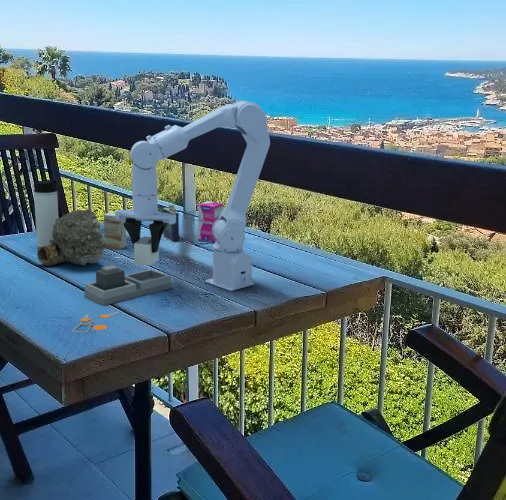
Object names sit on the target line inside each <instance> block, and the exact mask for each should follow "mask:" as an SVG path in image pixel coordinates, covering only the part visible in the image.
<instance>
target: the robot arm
mask: <svg viewBox="0 0 506 500" xmlns="http://www.w3.org/2000/svg"><path fill="white" fill-rule="evenodd" d="M267 121H268V118H267V115H266V113H265V111H264V110H263V109H262V107H261V106H260V105H259V104H257V102H253V101H247V100H244V99H241V100H236V101H234V102H233V103H228V104H226V105H223V106H220V107H218V108H217V109H214V110H213V111H211V112H209V113H207V114H205V115H204V116H201V117H200V118H198V119H196V120H194V121H192V122H190V123H189V124H187V125H185V126H183V127H182V126H179V125H176V124H174V125H172V126H171V125H170V124H168V125H166V126H164V130H162V131H160V132H158V133H155V134H154V135H148V136H146V137H145V138H146V140H139V141H137V142H135V143H134V144H133V145H132V146H131V149H130V152H129V157H130V160H131V162H133V163H132V166H131V170H132V175H131V185H132V186H131V188H132V189H131V191H132V195H131V196H132V198H131V199H132V209H117V210H115V211H114V212H115V219H126V221H125V222H124V223H123V224H124V227H125V229H126V233H127V234H128V237H129V239H130V242H131V243H132V248H133V250H134V243H136V242H137V241H139V239H140V238H141V229H142V222H150V223H149V224H148V227H149V228H148V229H149V232H150V237H151V248H152V253H156V252H157V251H158V248H159V247H160V242H161V240H162V236H163V232H164V230H165V228H166V226H167V223H169V224H174V223H176V214H168V213H163V211H158V210H159V209H158V206H159V205H158V203H159V202H158V173H157V165H158V162H159V160H165V159H167V158H169V157H170V156H172V155H173V156H174V155H175V154H177V153H179V152H181V151H183V150H185V149H186V148H187V147H188V144H189V142H190V141H191V140H192V139H194V138H197V137H199V136H201V135H205V134H206V133H209V132H210V131H213V130H216V129H217V128H219V127H229V128H230V127H231V128H236V129H237V130H238V131H239V132H241V135H242V137H243V139H244V141H245V142H246V147H245V150H244V153H243V155H242V159H241V162H240V164H239V168H238V170H237V174H236V176H235V179H234V182H233V185H232V187H231V191H230V194H229V197H228V200H227V203H226V205H225V207H223V211H222V212H221V215H220V217H219V219H218V220H217V221H216V222H215V223H214V224H213V227H212V234H213V236H214V238H215V239H216V242H215V243H213V245H212V278H209V279H205V283H207V284H209V285H212V286H215V287H219V288H221V289H224V290H227V291H229V292H233V291H237V290H239V289H242V288H247V287H251V286H253V285H255V282H253V281H252V280H253V278H252V276H253V275H252V274H253V260H252V257H251V255H250V254H249V253H247V252H245V251H244V249H243V248H244V243H245V239H246V236H245V235H246V234H245V229H246V225H247V212H248V209H249V206H250V204H251V200H252V199H253V195H254V192H255V189H256V187H257V186H256V185H257V184H258V179H259V177H260V174H261V171H262V169H263V166H264V164H265V160H266V157H267V154H268V151H269V149H270V146H271V140H270V139H271V138H270V134H269V129H268V124H267ZM151 222H152V223H151Z"/></svg>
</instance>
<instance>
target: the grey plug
mask: <svg viewBox="0 0 506 500" xmlns="http://www.w3.org/2000/svg"><path fill="white" fill-rule="evenodd" d="M133 256H134V265H138V266H139V265H140V266H148V267H149V266H152V265H153V264H155V263H156V262H159V260H160V257H159V256H160V249H159V248H158V251H157V252H156V253H152V248H151V236H145V235H144V236H142V237H140V239H139V241H137V242H136V243H134V249H133Z"/></svg>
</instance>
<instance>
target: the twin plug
mask: <svg viewBox="0 0 506 500" xmlns="http://www.w3.org/2000/svg"><path fill="white" fill-rule="evenodd" d="M125 272H126V271H125V270H124V269H121V268H120V267H119V266H117V265H116V266H115V265H114V264H112V265H108V266H103V267H101V269H100V270H95V280H96V281H95V282H96V287H97V288H100V289H102V290H104V291H105V290H110V289H114V288H118V287H122V286H125V275H126V273H125Z"/></svg>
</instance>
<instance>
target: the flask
mask: <svg viewBox="0 0 506 500" xmlns="http://www.w3.org/2000/svg"><path fill="white" fill-rule="evenodd" d="M175 205H176V204H168V205H167V207H163V208H162V212H163V213H168V214H176V223H174V224H169V223H167V226H166V228H165V230H164V232H163V234H162V236H163V237H164V238H166V239H167V240H169V241H171V242H173V243H178V242H180V228H179V227H180V226H179V225H180V224H179V222H180V220H179V215H180V214H179V212H178V211H177V210H176V208H175Z"/></svg>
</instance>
